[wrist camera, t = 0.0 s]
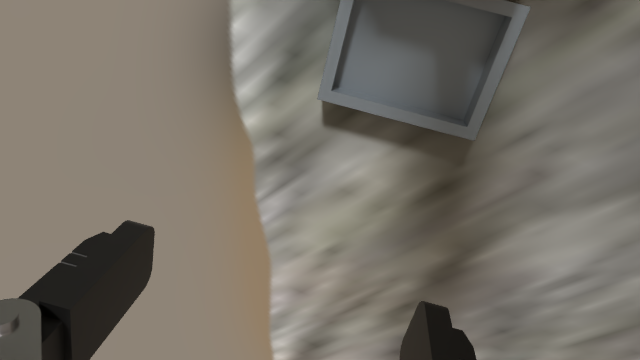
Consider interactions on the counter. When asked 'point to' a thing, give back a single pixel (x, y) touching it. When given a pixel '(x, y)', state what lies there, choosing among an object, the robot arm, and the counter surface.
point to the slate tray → (421, 59)
